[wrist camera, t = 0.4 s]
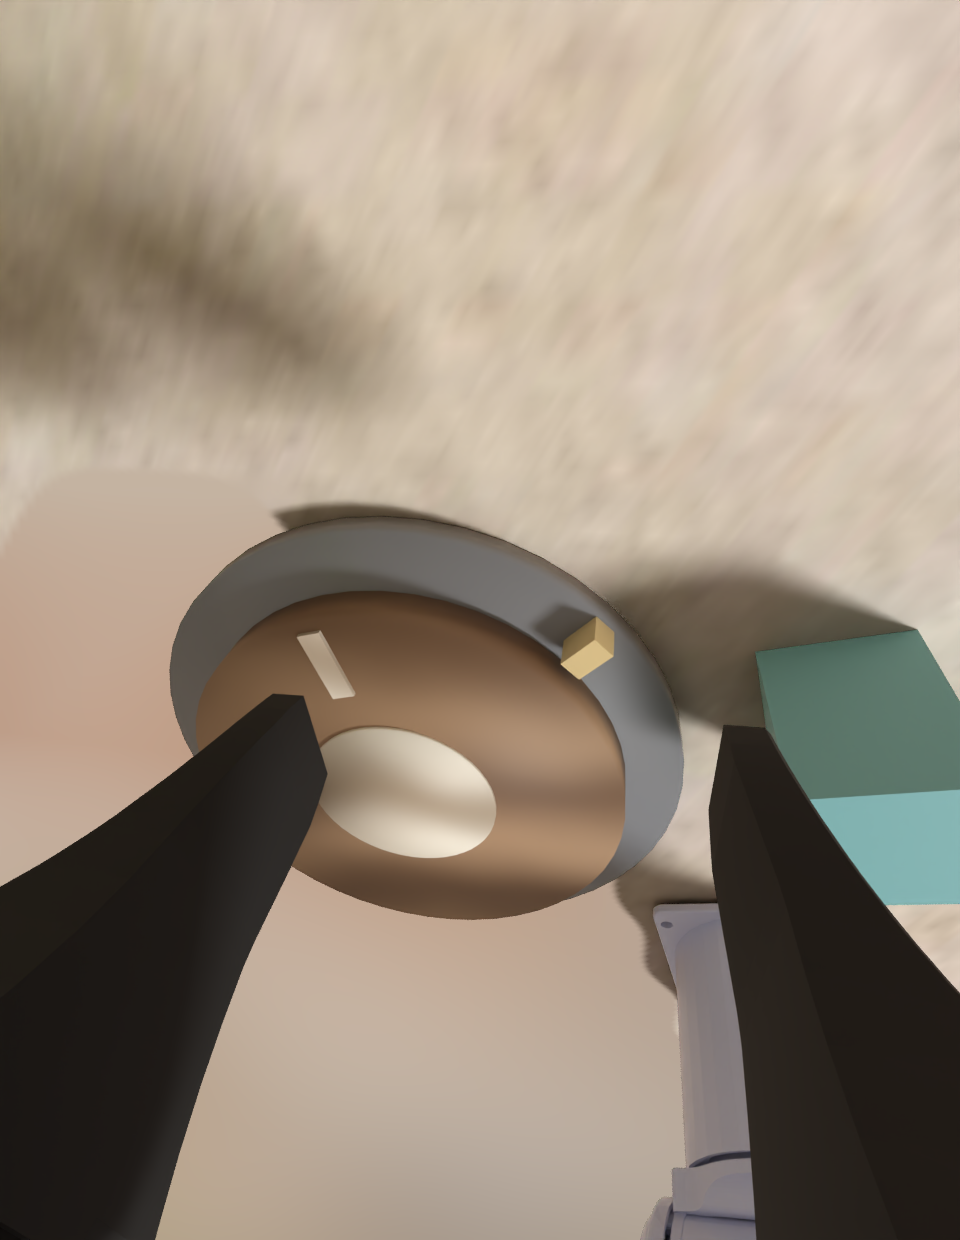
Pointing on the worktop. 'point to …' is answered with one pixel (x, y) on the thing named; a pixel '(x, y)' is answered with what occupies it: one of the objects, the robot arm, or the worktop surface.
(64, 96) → the worktop surface
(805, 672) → the link block
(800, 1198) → the robot arm
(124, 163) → the worktop surface
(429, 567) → the turntable base
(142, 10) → the worktop surface
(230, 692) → the turntable
